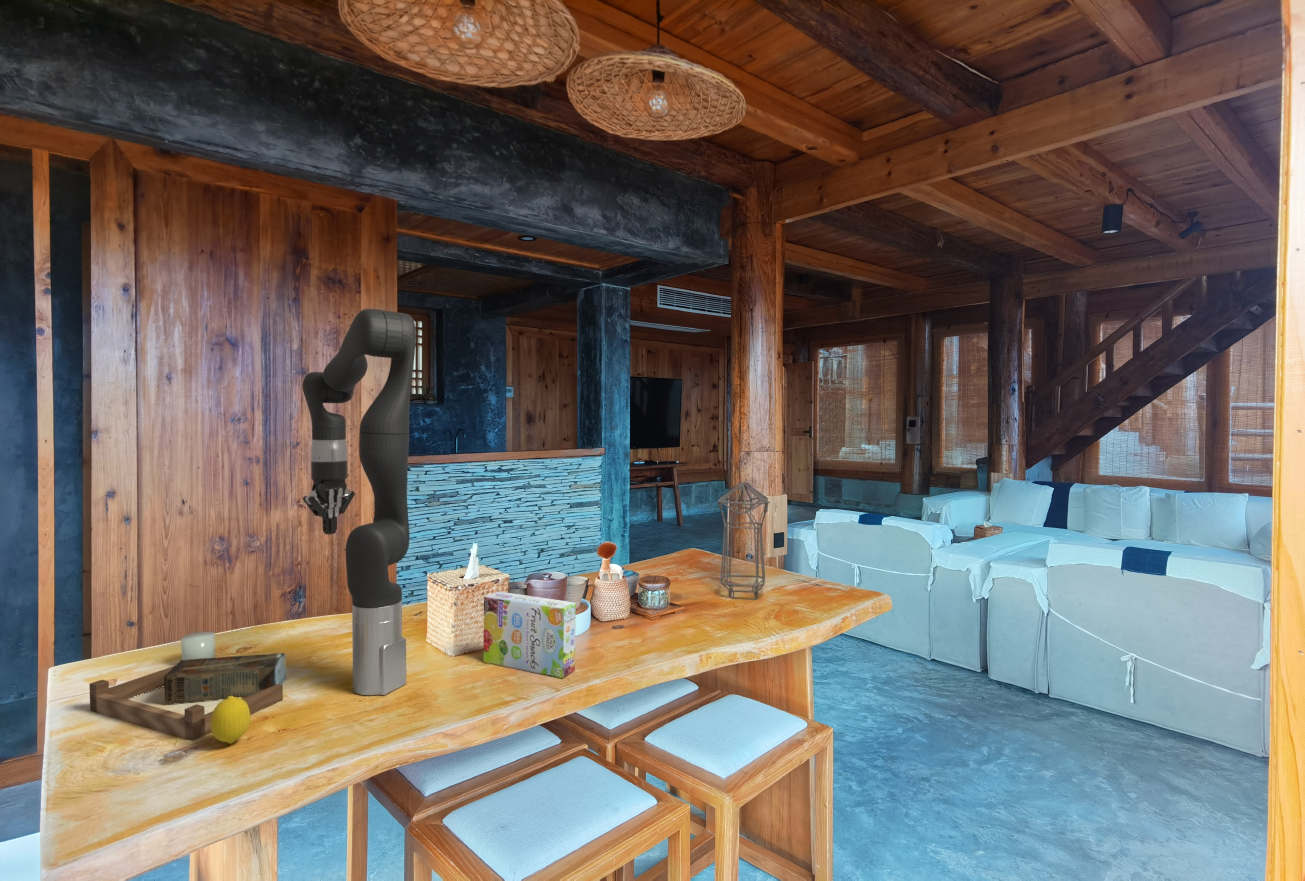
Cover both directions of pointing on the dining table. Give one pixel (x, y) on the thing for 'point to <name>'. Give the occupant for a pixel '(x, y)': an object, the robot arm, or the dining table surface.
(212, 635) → the grey rounded cylinder
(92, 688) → the frame
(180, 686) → the beverage carton
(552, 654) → the snack box
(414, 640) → the dining table surface
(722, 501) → the geometric lantern
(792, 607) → the dining table surface
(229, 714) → the lemon
